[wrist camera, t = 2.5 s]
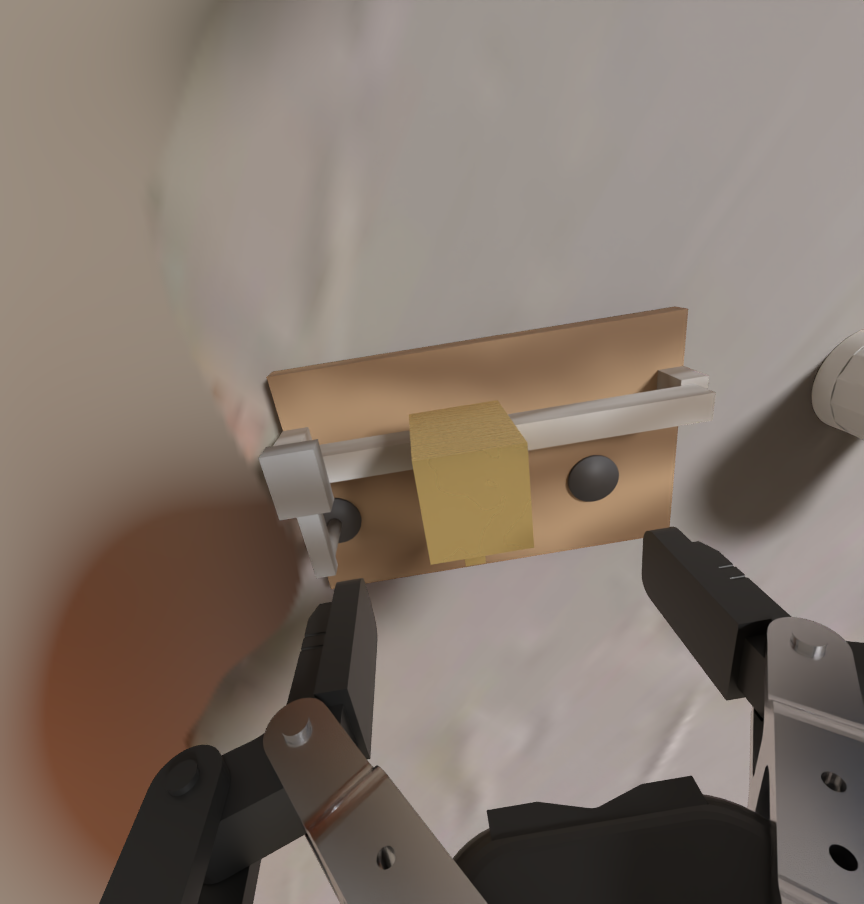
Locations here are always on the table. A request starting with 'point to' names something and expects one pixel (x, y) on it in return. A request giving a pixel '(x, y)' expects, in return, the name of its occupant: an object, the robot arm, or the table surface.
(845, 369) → the cup
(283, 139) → the table surface
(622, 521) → the board
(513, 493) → the sliding block
